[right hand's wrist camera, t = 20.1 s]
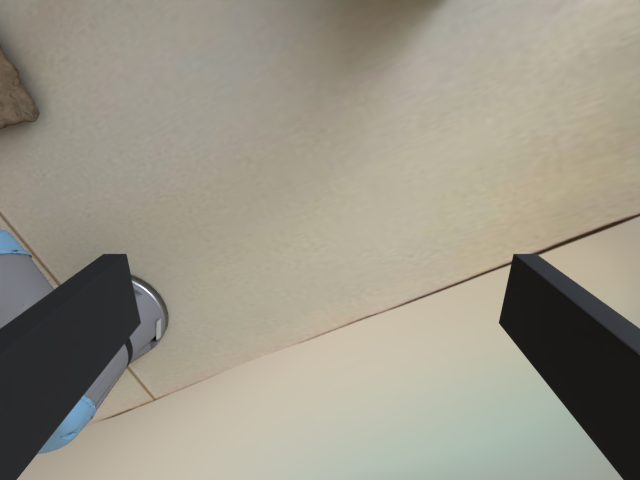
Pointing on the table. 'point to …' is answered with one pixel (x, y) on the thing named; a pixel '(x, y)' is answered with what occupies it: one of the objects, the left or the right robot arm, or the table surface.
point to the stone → (14, 96)
